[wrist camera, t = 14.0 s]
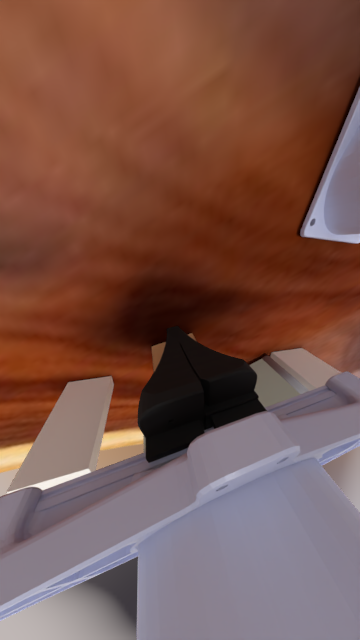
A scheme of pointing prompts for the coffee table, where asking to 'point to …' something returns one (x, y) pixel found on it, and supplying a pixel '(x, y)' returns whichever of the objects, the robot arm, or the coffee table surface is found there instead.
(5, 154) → the coffee table surface
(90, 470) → the door frame
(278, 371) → the door
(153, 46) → the coffee table surface
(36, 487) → the robot arm
